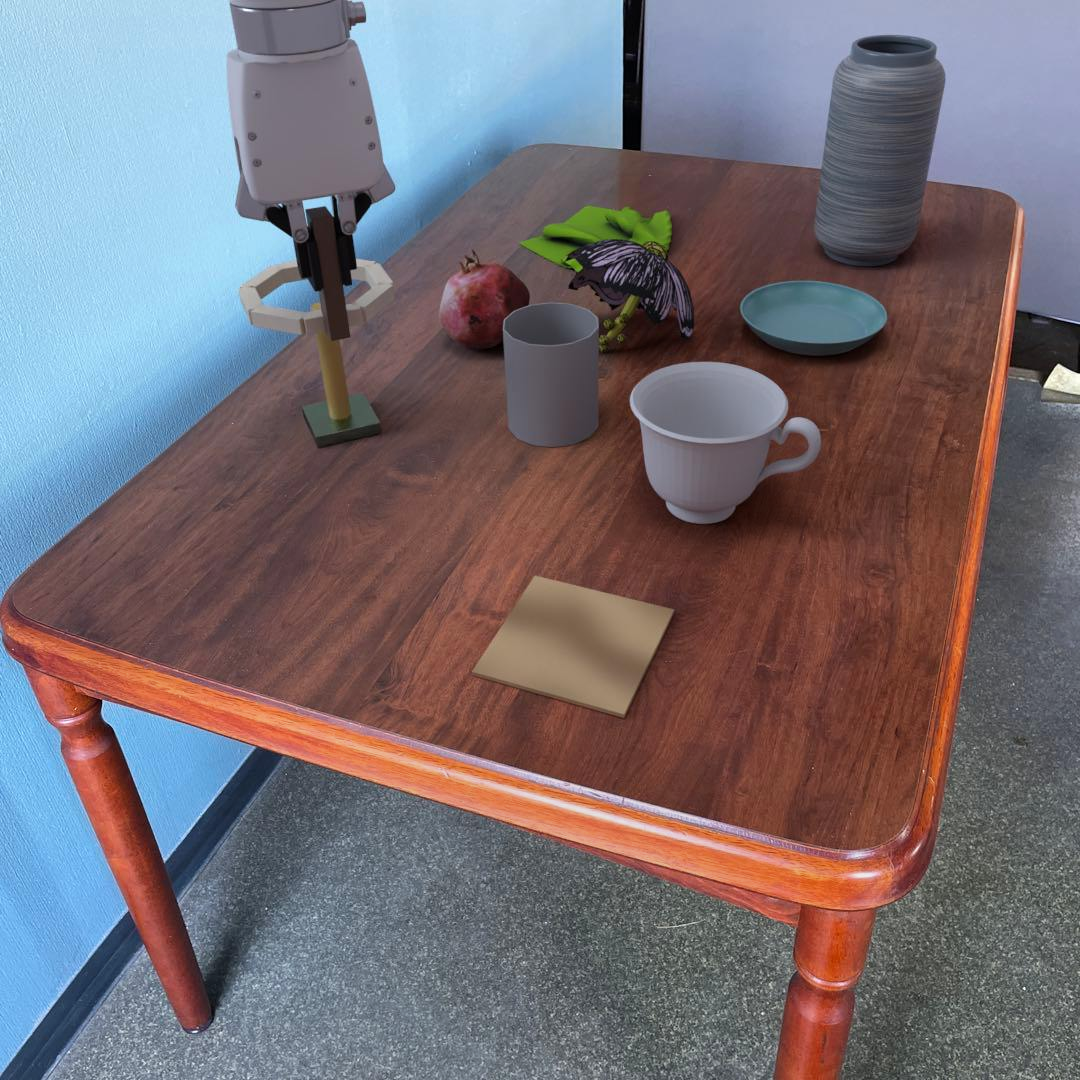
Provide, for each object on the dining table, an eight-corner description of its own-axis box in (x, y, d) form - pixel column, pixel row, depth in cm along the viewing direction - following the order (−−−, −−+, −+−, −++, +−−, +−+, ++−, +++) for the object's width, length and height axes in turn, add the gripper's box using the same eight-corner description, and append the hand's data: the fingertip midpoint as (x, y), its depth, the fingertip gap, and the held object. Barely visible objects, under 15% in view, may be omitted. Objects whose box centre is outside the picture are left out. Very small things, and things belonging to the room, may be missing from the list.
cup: (497, 441, 97) (491, 341, 91) (520, 396, 103) (515, 299, 97) (589, 451, 95) (588, 349, 89) (606, 404, 101) (607, 306, 95)
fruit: (548, 332, 114) (545, 242, 107) (496, 370, 107) (490, 276, 101) (478, 313, 118) (472, 225, 112) (424, 349, 112) (414, 257, 105)
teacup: (784, 575, 81) (800, 464, 75) (603, 525, 86) (604, 419, 80) (827, 491, 89) (844, 385, 83) (659, 451, 95) (664, 349, 89)
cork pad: (624, 718, 70) (624, 714, 70) (472, 675, 74) (471, 671, 73) (674, 613, 78) (674, 609, 78) (534, 579, 81) (534, 575, 81)
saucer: (914, 344, 109) (919, 320, 107) (797, 381, 104) (800, 356, 102) (821, 291, 119) (824, 268, 118) (710, 321, 114) (711, 298, 113)
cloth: (580, 289, 122) (580, 269, 120) (496, 227, 137) (495, 208, 136) (729, 251, 129) (730, 231, 127) (633, 196, 144) (633, 178, 143)
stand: (317, 448, 97) (294, 327, 90) (303, 416, 101) (280, 299, 94) (382, 433, 99) (364, 313, 91) (365, 403, 103) (347, 286, 96)
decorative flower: (744, 259, 103) (598, 232, 98) (715, 379, 106) (573, 357, 102) (686, 245, 116) (555, 220, 112) (662, 352, 120) (534, 331, 115)
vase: (792, 255, 127) (817, 47, 113) (842, 225, 134) (871, 26, 120) (882, 280, 121) (919, 64, 107) (929, 248, 128) (971, 40, 114)
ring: (233, 286, 95) (209, 173, 89) (369, 262, 99) (355, 151, 92) (263, 355, 84) (238, 231, 78) (415, 324, 88) (402, 204, 82)
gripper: (387, 6, 78) (411, 248, 89) (166, 29, 74) (221, 282, 85) (417, 26, 73) (439, 282, 84) (180, 53, 68) (237, 320, 79)
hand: (329, 280), depth 84 cm, fingers closed on ring
